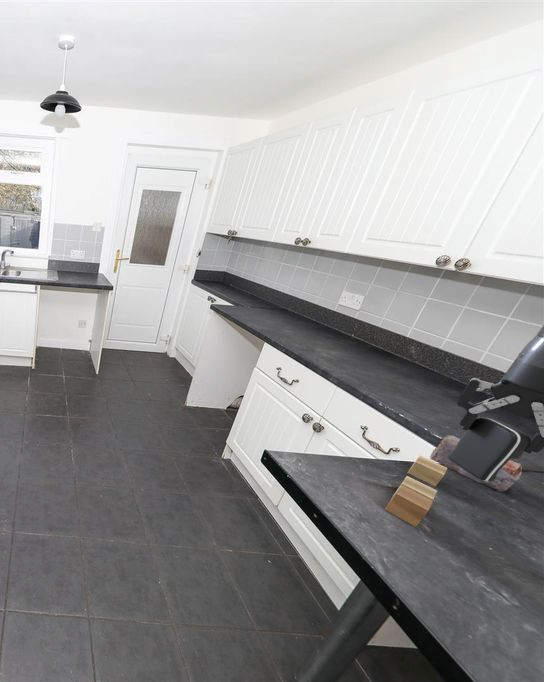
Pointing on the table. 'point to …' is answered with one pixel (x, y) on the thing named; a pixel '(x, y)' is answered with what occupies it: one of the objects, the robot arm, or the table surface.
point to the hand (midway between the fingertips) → (494, 439)
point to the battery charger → (488, 447)
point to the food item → (501, 483)
